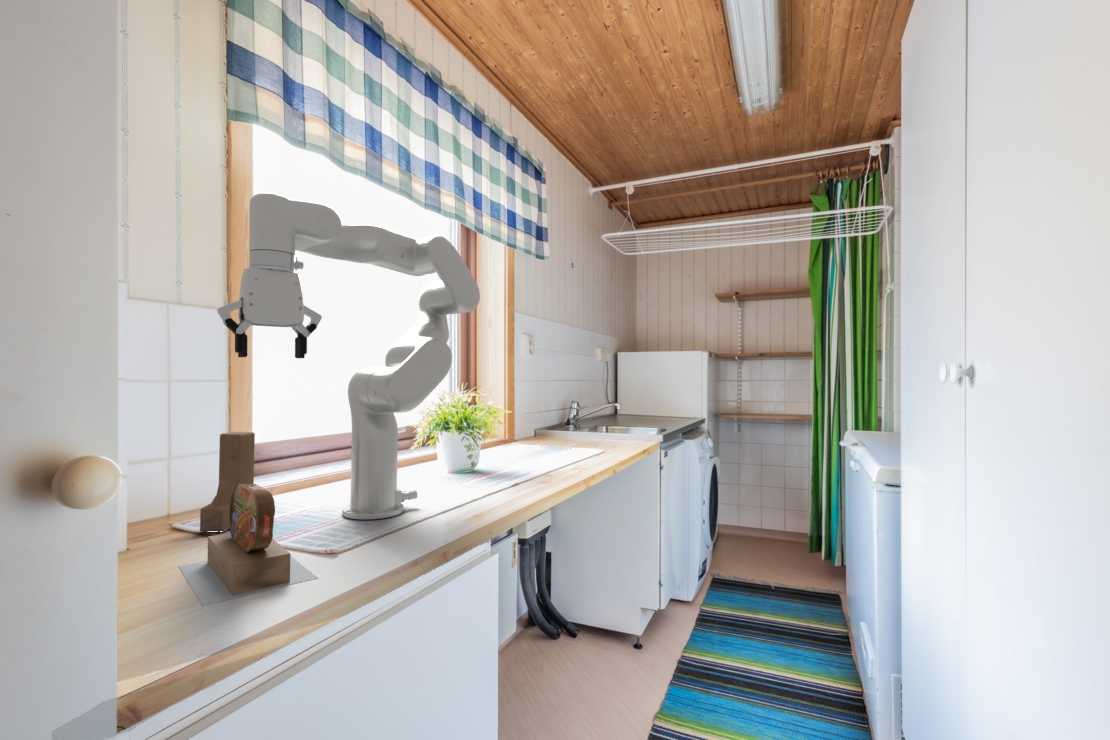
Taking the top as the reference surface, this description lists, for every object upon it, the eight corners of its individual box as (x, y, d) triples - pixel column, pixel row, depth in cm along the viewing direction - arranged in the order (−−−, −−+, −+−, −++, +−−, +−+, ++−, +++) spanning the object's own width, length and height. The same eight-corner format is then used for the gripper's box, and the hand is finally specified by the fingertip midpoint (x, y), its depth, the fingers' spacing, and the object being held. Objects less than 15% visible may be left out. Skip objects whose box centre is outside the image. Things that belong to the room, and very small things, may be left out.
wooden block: (220, 533, 99) (223, 437, 100) (198, 532, 100) (201, 436, 100) (253, 520, 108) (255, 432, 108) (233, 519, 109) (235, 431, 109)
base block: (258, 553, 86) (258, 528, 86) (289, 582, 74) (290, 553, 74) (207, 562, 81) (208, 536, 81) (232, 595, 70) (233, 564, 70)
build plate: (279, 553, 89) (279, 547, 89) (318, 585, 76) (318, 577, 76) (178, 573, 80) (178, 566, 80) (202, 613, 67) (202, 605, 67)
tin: (226, 534, 83) (228, 479, 83) (249, 530, 85) (250, 477, 85) (252, 559, 72) (253, 496, 72) (277, 554, 74) (278, 493, 74)
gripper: (313, 273, 107) (313, 358, 107) (212, 260, 94) (212, 357, 94) (328, 268, 101) (327, 358, 101) (223, 253, 89) (223, 356, 89)
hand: (272, 357), depth 98 cm, fingers open, 9 cm apart
